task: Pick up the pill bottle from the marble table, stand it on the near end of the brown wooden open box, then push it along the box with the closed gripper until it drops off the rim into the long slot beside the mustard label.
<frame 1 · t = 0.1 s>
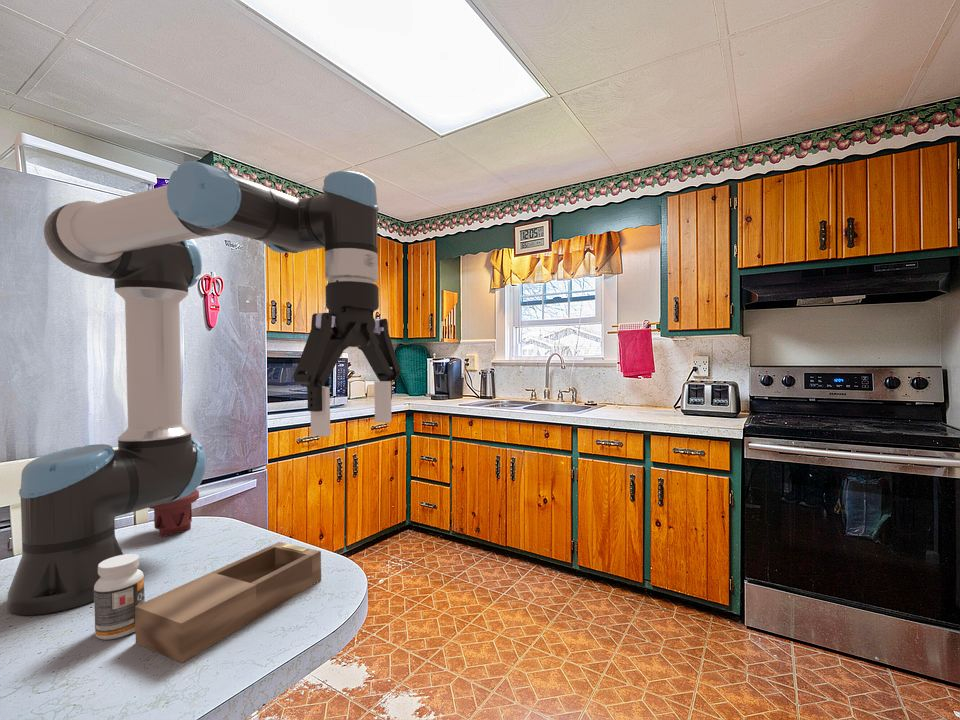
hand: (354, 428, 69), 28 cm above the table, fingers open, 13 cm apart
brown wooden open box: (239, 607, 73), on the table
pill bottle: (120, 631, 67), on the table
mechanical component: (173, 532, 105), on the table
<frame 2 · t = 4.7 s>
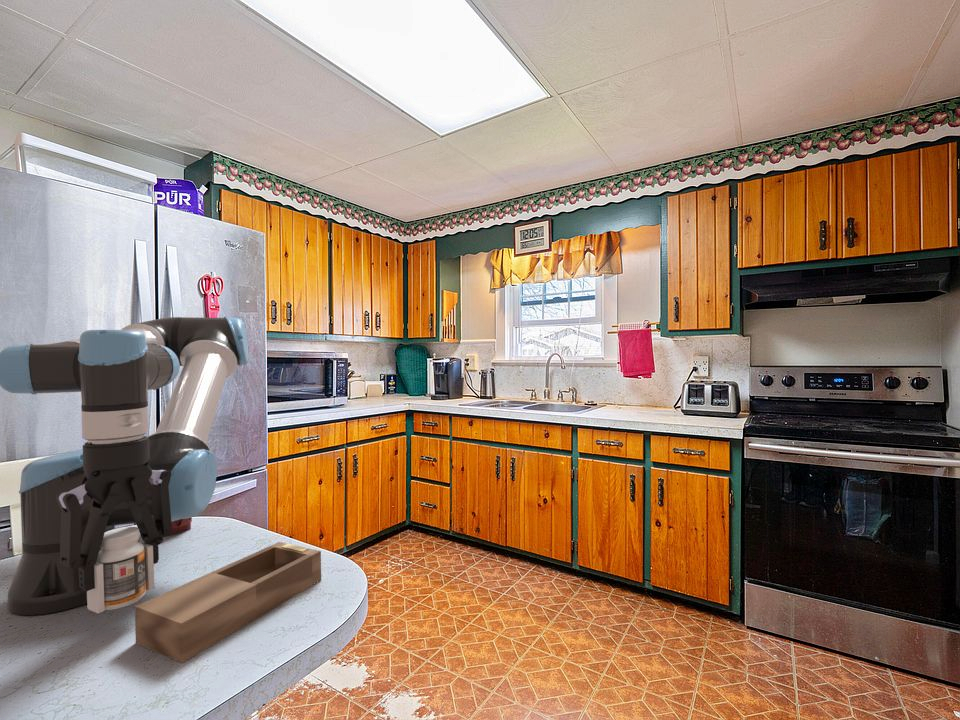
hand: (122, 598, 68), 4 cm above the table, fingers closed on pill bottle, 6 cm apart
pill bottle: (121, 601, 68), point 4 cm above the table, touching gripper
everything else where it was.
when the fingers open (6 cm above the table, at t = 8.1 s): pill bottle stays where it is, resting on brown wooden open box.
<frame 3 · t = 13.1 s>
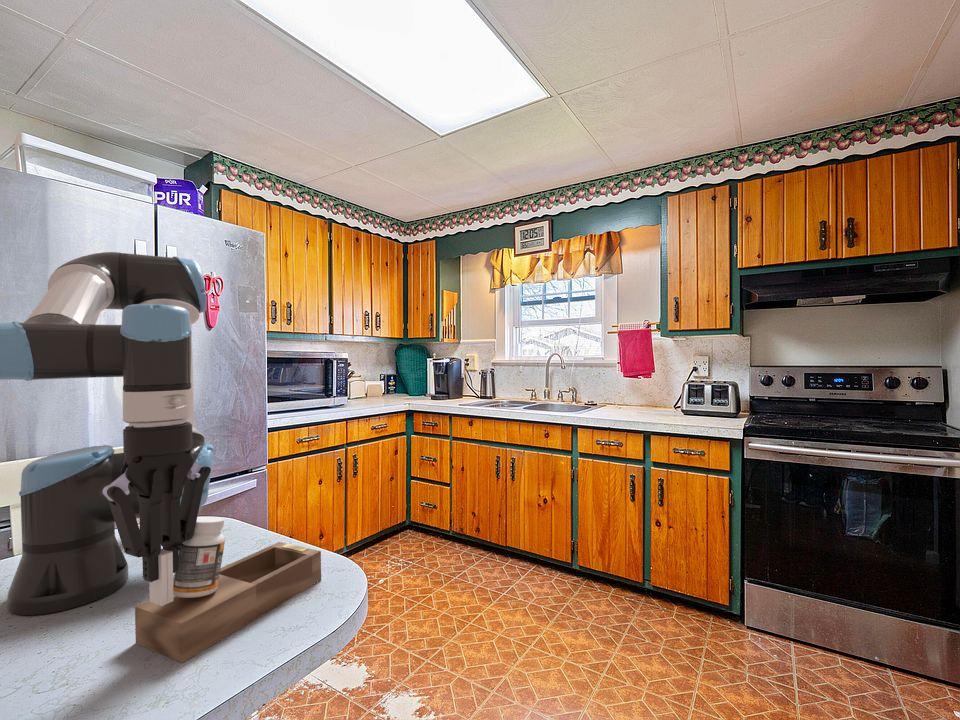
hand: (161, 601, 62), 7 cm above the table, fingers closed
pill bottle: (193, 593, 66), point 5 cm above the table, touching brown wooden open box, gripper
everything else where it was.
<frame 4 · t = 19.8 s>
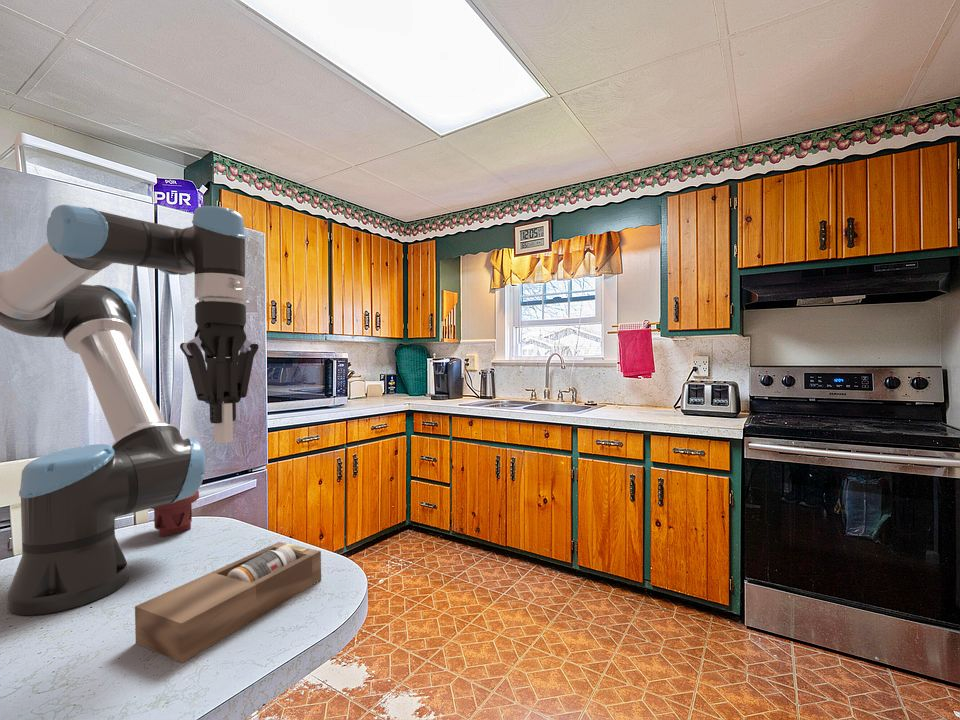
hand: (223, 441, 80), 24 cm above the table, fingers closed
pill bottle: (234, 589, 73), point 3 cm above the table, touching brown wooden open box
everything else where it was.
at the end: pill bottle inside the target area on the brown wooden open box (4.9 cm from its centre), point 2.8 cm above the brown wooden open box's base; the gripper is holding nothing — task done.
